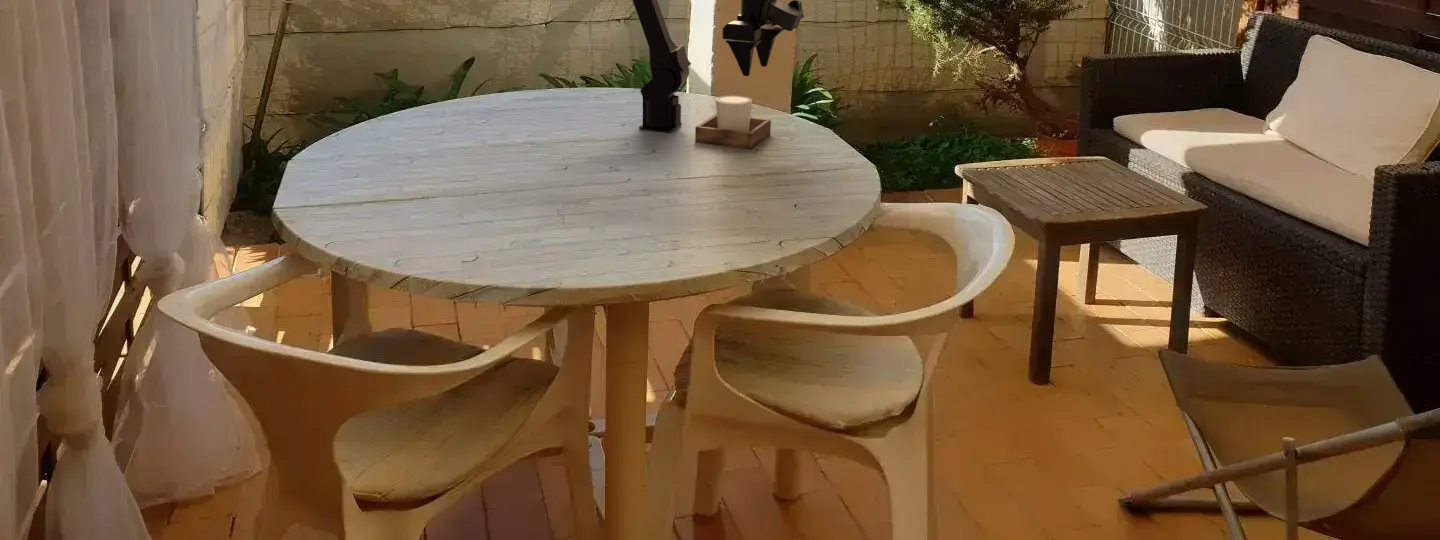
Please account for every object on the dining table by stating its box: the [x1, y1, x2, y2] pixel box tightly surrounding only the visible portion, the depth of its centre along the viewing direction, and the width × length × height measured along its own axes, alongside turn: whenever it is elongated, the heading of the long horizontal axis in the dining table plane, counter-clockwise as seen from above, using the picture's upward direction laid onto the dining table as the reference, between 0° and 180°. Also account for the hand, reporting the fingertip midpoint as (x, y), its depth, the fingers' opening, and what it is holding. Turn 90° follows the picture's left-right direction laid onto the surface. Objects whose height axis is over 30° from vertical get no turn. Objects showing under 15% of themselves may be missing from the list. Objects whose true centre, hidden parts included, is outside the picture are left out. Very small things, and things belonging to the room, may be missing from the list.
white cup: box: [715, 95, 753, 132], centre depth 236 cm, size 7×7×7 cm
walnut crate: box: [694, 113, 772, 150], centre depth 237 cm, size 11×11×3 cm
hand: (755, 71), depth 236 cm, fingers open, 9 cm apart
